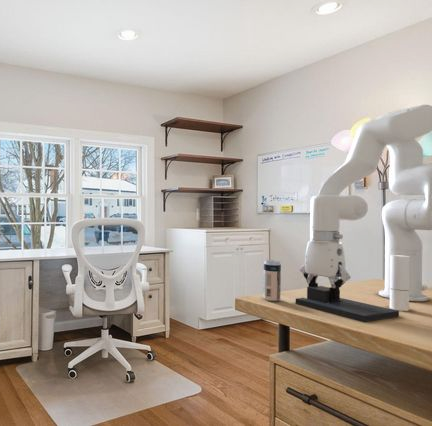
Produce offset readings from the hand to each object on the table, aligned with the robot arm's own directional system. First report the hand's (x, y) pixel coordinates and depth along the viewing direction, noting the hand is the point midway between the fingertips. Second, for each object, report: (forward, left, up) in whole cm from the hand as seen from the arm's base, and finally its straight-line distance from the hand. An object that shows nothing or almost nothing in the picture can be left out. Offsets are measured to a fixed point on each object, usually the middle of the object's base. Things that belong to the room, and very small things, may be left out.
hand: (323, 298), depth 110 cm
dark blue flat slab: (0, +6, -2) cm, 7 cm away
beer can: (+10, -10, -2) cm, 14 cm away
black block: (0, 0, -1) cm, 1 cm away
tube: (-16, +11, -2) cm, 20 cm away
